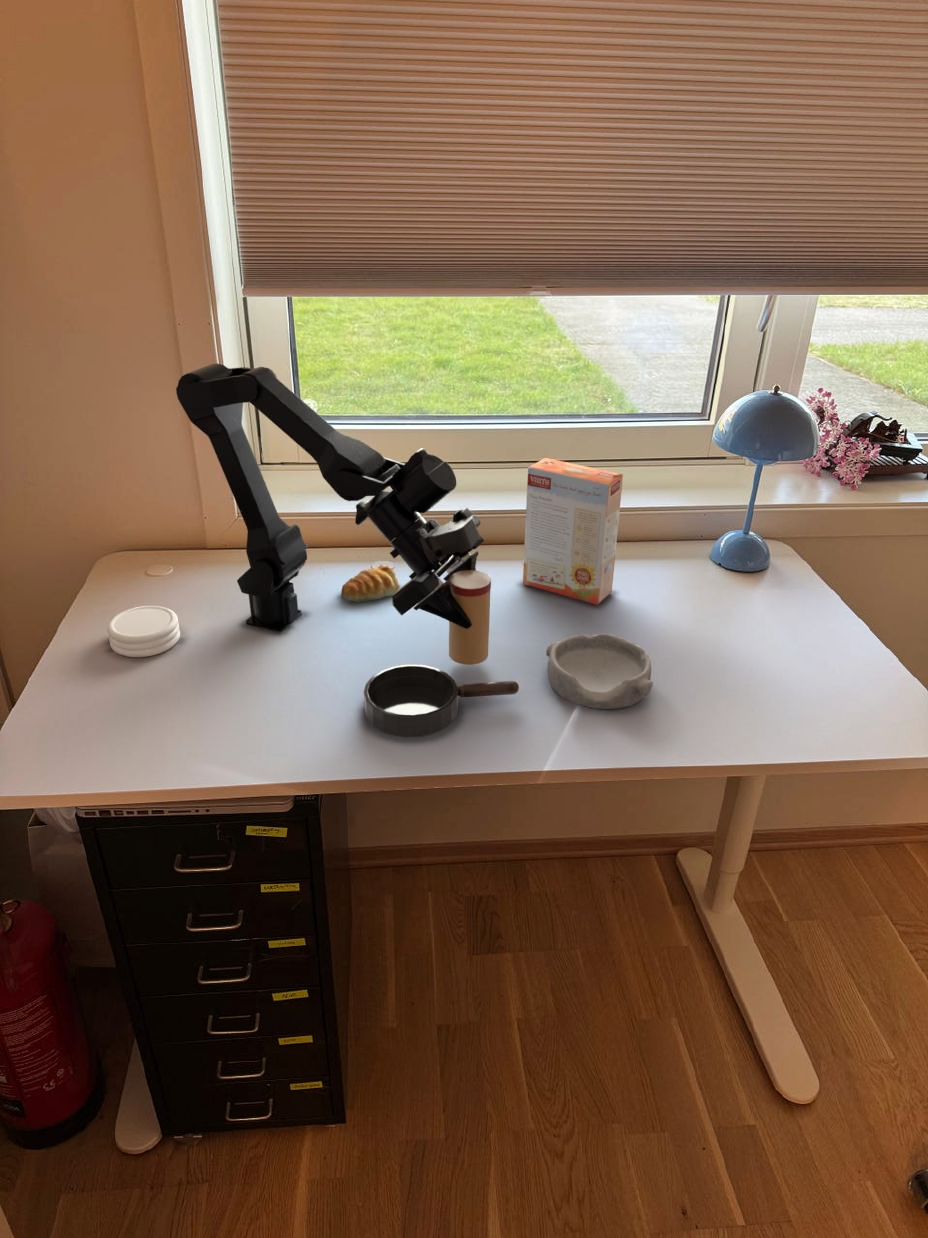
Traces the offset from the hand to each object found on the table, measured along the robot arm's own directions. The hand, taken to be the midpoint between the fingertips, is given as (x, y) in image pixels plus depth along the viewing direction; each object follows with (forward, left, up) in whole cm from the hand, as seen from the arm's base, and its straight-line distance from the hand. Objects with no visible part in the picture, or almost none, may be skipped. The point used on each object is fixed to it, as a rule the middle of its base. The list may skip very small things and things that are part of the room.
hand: (478, 617), depth 128 cm
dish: (+17, +3, -9) cm, 19 cm away
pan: (-4, -13, -9) cm, 16 cm away
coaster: (-48, -12, -9) cm, 51 cm away
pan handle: (+5, -8, -7) cm, 11 cm away
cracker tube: (-1, 0, -6) cm, 7 cm away
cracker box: (+5, +29, -9) cm, 31 cm away
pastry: (-24, +15, -9) cm, 30 cm away
